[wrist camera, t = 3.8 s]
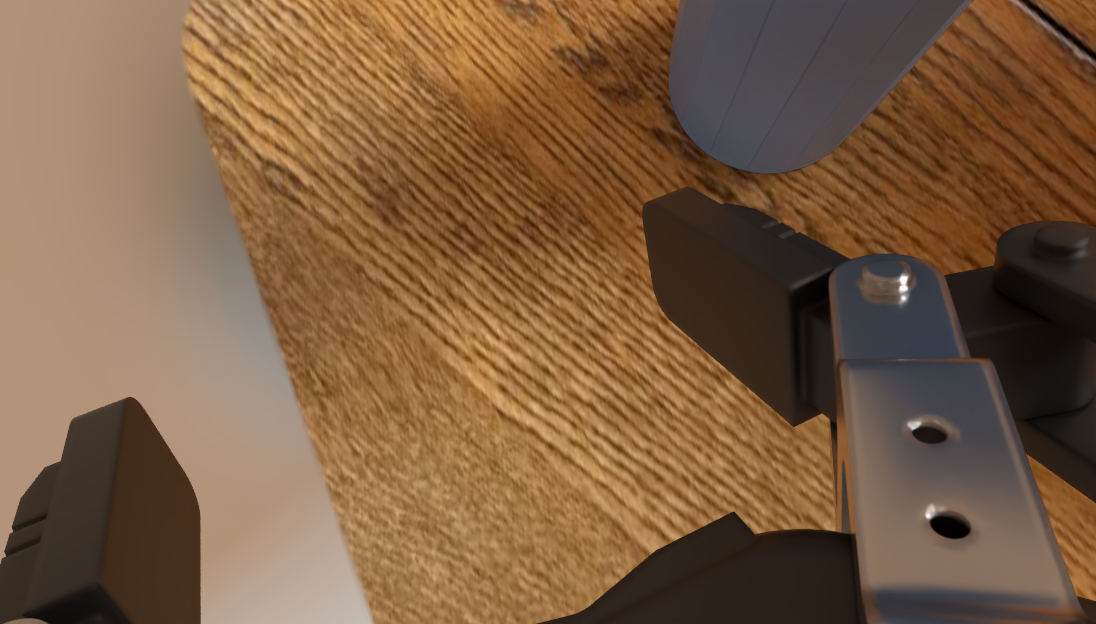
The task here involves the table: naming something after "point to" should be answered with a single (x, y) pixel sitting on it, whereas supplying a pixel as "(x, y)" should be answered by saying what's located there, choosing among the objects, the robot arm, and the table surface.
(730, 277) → the robot arm
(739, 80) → the blue bottle
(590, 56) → the table surface
